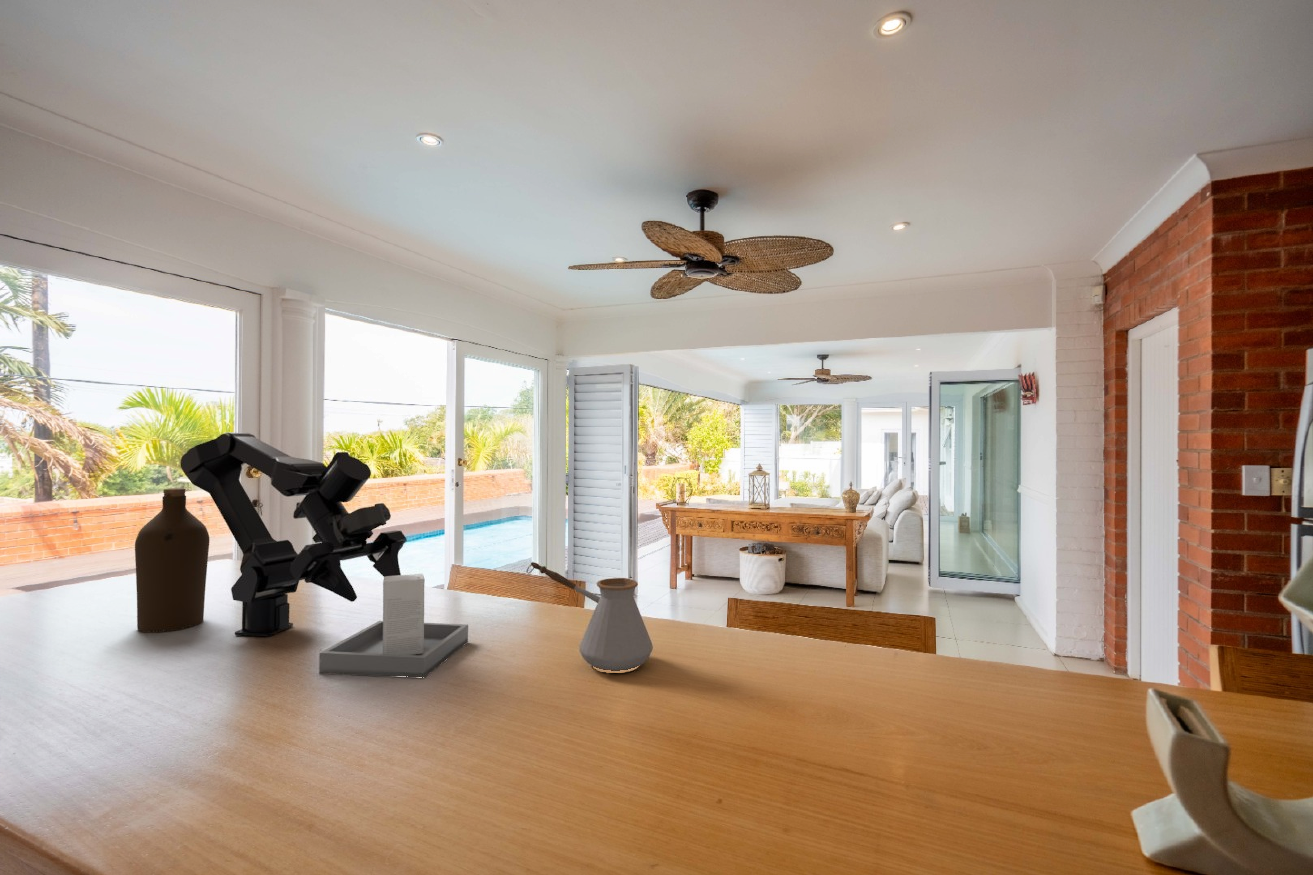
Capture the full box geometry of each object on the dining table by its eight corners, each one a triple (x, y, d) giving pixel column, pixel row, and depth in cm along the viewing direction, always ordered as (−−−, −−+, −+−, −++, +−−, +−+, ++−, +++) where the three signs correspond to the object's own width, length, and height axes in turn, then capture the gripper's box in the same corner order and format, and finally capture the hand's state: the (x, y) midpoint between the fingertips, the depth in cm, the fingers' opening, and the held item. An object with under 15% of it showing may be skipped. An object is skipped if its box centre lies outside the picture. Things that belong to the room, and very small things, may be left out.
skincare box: (422, 645, 97) (424, 572, 97) (423, 654, 93) (425, 578, 94) (382, 650, 95) (383, 575, 95) (381, 659, 91) (383, 581, 91)
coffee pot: (661, 656, 96) (662, 564, 97) (639, 683, 85) (640, 579, 86) (543, 642, 103) (544, 555, 103) (508, 665, 92) (510, 568, 92)
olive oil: (219, 621, 111) (222, 488, 111) (150, 637, 101) (153, 491, 102) (189, 613, 116) (192, 485, 116) (121, 628, 106) (124, 488, 107)
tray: (319, 673, 87) (319, 652, 87) (378, 637, 103) (379, 620, 103) (423, 678, 86) (424, 657, 86) (467, 642, 102) (468, 624, 102)
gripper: (304, 492, 90) (357, 572, 85) (400, 485, 107) (447, 551, 103) (267, 540, 93) (316, 620, 88) (366, 526, 110) (411, 592, 106)
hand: (378, 592), depth 96 cm, fingers open, 9 cm apart
